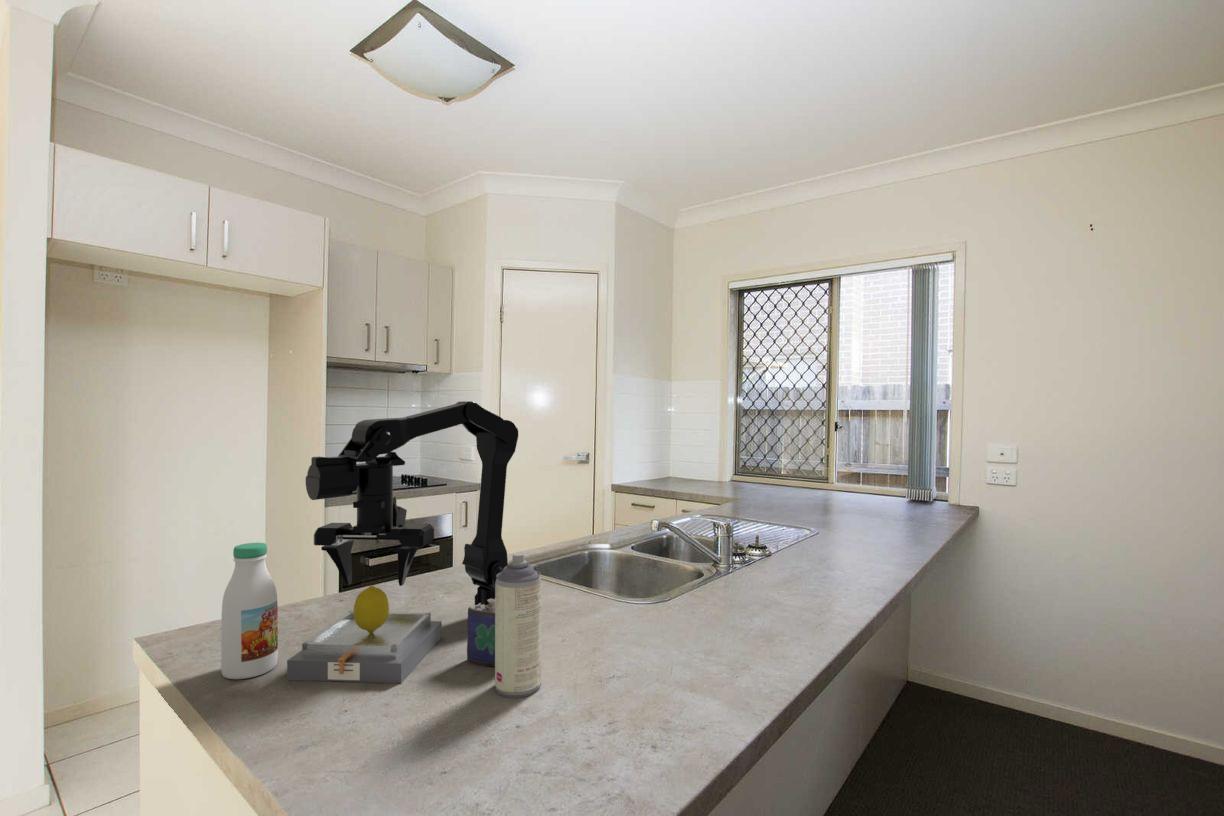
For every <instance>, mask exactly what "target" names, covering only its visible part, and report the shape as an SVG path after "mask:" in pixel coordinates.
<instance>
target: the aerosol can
mask: <svg viewBox="0 0 1224 816" xmlns="http://www.w3.org/2000/svg"><path fill="white" fill-rule="evenodd" d="M496 577H497V579H496V582H495V667H494V689H495V693H497V695H500V696H501V697H505V698H510V699H513V698H514V699H517V698H525V697H528V696H531V695H534V694H536V693H538V692H539V690H540V689H541V686H542V685H541V684H542V683H541V682H542V675H541V674H542V579H541V573H540V572H539V570H538V571H537V570H535V568H534V567H533V565H530V563H529V562H527V560H526V559H525V553H521V552H516V553H512V560H510V562H508V566H506V567H505V568H504V569H503V570H502V572H500V573H498V574H497V575H496Z"/></svg>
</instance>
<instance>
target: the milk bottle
mask: <svg viewBox="0 0 1224 816" xmlns="http://www.w3.org/2000/svg"><path fill="white" fill-rule="evenodd" d="M232 551H233V554H232V555H233V562H234V569H233V572H232V575H231V577H230V580H229V581H228V583H227V585H226V588H225V590H224V593H223V596H222V603H221V627H220V628H221V631H220V633H221V635H220V636H221V639H220V642H221V646H220V647H221V649H220V651H221V653H220V654H221V656H220V657H221V659H220V661H221V662H220V663H221V665H220V666H221V668H220V669H221V671H220V672H221V674H222V676H223V678H225V679H230V680H243V679H250V678H254V677H258V676H260V675H264V674H266V673H269V672H271V671H273V670H274V668H275V667H276V666H277V664H278V657H279V654H278V653H279V652H278V651H279V650H278V649H279V646H278V645H279V641H278V640H279V639H278V637H279V635H278V633H279V632H278V630H279V629H278V628H279V626H278V625H279V614H278V613H279V612H278V611H279V610H278V607H279V606H278V605H279V604H278V593H277V586H276V585H275V581H274V580H273V578H272V576H271V574H270V573H269V570H268V567H267V564H266V559H267V557H268V556H267V555H268V545H267V544H266V543H265V542H247V543H242V544H239V545H236V546H234V547H233V550H232Z"/></svg>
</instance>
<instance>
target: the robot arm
mask: <svg viewBox="0 0 1224 816" xmlns="http://www.w3.org/2000/svg"><path fill="white" fill-rule="evenodd" d="M459 425H462V426H463V428H464V429H465V430H466V431H467V432H468V433H470V435H473V436H474V437H475V439H476V440H475V441H476V450H477V454H478V456H479V458H480V461H481V464H482V465H481V474H480V475H481V477H480V489H479V499H478V500H479V501H478V513H477V523H476V535H475V537H474V538H473V540H472V542H471V543H465V544H464V546H463V551H464V557H463V560H462V563H461V564H462V565H464V569H465V573H466V574H467V575H468V577H470V579H471V581H472V584H473V585H474V586H478V587H477V588H476V589H477V592H476V594H475V595H474V605H478V604H479V603H481V605H482V604H484V605H485V606H486V605H488V604H489V602H488V601H487V600H488V599H494V598H495V582H496V579H497V577H496V575H497V574H498V573H500V572H502V570H503V569H504V568H505V567H506V566H508V564H509V561H508V551H507V548H506V545H505V542H504V539H503V538H502V535H503V534H502V532H503V522H504V521H503V519H504V508H505V496H506V495H505V494H506V483H507V469H508V464H509V463H510V461H511V459H512V457H513V455H514V454H515V453H516V448H517V445H518V440H519V428H518V427H517V426H516V425H515V423H514V422H512V421H511V420H508V419H504V418H502V417H501V416H499V415H497V414H495V413H493V412H492V411H489V410H487V409H486V408H483V407H482V406H481V405H480V404H478V403H477V402H476V401H471V400H470V401H463V400H462V401H457V402H456V403H454V404H450V405H447V406H442V407H438V408H434V409H430V410H427V411H423V412H418V413H415V414H410V415H406V416H403V417H389V418H388V417H387V418H385V417H384V418H374V419H373V418H371V419H369V418H368V419H363V420H361V421H358V422H357V423H356V424H355V426H354V428H353V430H352V434H351V438H350V439H349V440H348V442H347V443H346V444H345V446H344V447H343V449H341V451H340V453H338V455H337V456H330V457H329V456H312V457H311V463H310V465H309V466H308V469H307V474H306V476H305V488H306V493H307V495H308V498H309V499H310V500H311V501H317V500H327V499H336V498H337V499H338V498H345V497H350V496H351V495H352V494H353V493H354V492H356V500H355V501H352V506H353V507H352V508H353V509H356V525H354V526H353V525H352V524H351V522H330V523H327V524H324V525H322V526H319V527H317V528H316V530H315V531H314V534H313V545H314V546H321V551H325V552H326V553H327V554H328V556H329V557H330V559H331V561H332V562H333V563H334V565H335V567H336V568H337V570H338V573H339V574H340V575H341V578H342V580H343V581H344V583H345V585H346V586H350V585H351V584H352V578H353V568H352V549H353V545H354V542H355V540H363V541H365V540H366V541H368V540H370V541H371V540H372V541H373V540H375V541H377V540H378V541H385V540H386V541H398V543H399V544H401V546H400V547H397V580H398V585H399V587H402V586H404V584H405V582H406V579H407V576H408V573H409V572H410V571H409V570H410V568H411V566H412V565H411V564H412V562H413V560H414V558H415V555H416V553H417V551H418V550H420V549H422V548H423V547H424V546H426V545H427V544H429V543H430V542H432V541H434V540H435V528H434V527H433V525H432V524H431V523H409V524H407V525H406V519H407V513H408V510H407V509H406V508H403V507H402V506H398V505H397V497H396V496H394V495H393V494H394V492H393V491H394V486H393V485H394V478H393V477H394V474H393V473H394V467H397V466H399V467H400V466H405V465H406V461H405V460H404V459H402V458H401V457H400V456H399V455H398V454H397V452H396V451H395V450H398V449H399V448H401V447H404V446H405V445H406V444H407V443H409V442H410V441H411V440H413V439H416V438H417V437H418V438H419V437H422V436H425V435H428V434H432V433H435V432H439V431H442V430H445V429H449V428H452V427H453V428H454V427H457V426H459ZM380 455H382V456H380ZM383 455H384V456H383ZM357 462H358V463H357Z"/></svg>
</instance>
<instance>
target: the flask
mask: <svg viewBox="0 0 1224 816" xmlns="http://www.w3.org/2000/svg"><path fill="white" fill-rule="evenodd" d="M487 601H488V602H489V604H488V605H486V606H485V605H484V604H482V605H481V603H479V604H478V605H475V604H473V605H470V606H469V607H468V609H467V640H466V641H467V643H466V659H467V660H466V662H467V663H468V664H471V665H474V666H475V665H476V666H480V667H491V668H495V598H494V599H488V600H487Z"/></svg>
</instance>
